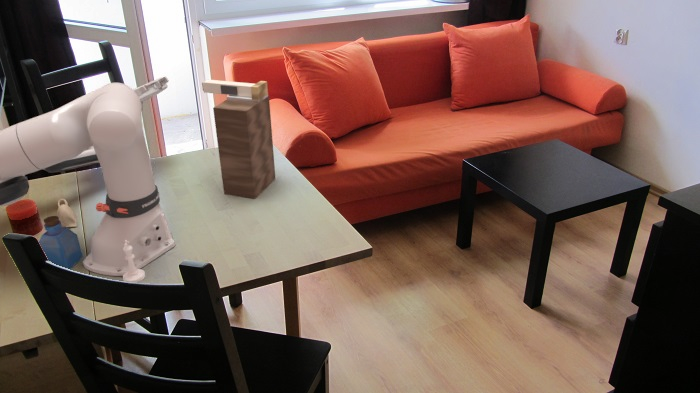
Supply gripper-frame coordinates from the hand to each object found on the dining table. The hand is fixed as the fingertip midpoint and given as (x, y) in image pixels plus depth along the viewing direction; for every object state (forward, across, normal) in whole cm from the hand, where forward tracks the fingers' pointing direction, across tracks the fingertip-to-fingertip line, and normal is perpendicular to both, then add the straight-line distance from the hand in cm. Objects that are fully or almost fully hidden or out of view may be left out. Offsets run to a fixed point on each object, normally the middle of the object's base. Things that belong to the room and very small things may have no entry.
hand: (156, 83), depth 165 cm
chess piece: (+5, +49, -38) cm, 63 cm away
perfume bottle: (-12, +50, -28) cm, 58 cm away
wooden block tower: (+9, 0, -39) cm, 40 cm away
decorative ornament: (-23, +34, -21) cm, 46 cm away
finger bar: (+18, -4, -13) cm, 23 cm away
